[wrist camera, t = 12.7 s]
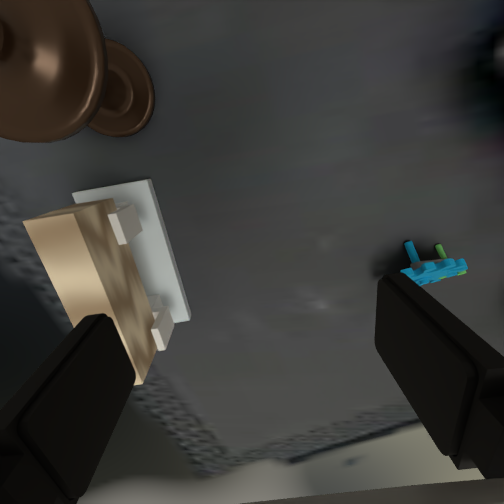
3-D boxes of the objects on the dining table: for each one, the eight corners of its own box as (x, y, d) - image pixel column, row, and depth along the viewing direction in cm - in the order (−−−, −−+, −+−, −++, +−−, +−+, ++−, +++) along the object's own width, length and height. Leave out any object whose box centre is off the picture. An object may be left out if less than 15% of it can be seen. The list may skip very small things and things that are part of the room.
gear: (369, 297, 38) (418, 274, 29) (357, 259, 40) (399, 227, 31) (435, 289, 40) (500, 265, 31) (420, 253, 42) (476, 222, 33)
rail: (74, 204, 27) (22, 221, 20) (112, 197, 27) (73, 213, 20) (130, 343, 34) (104, 389, 27) (161, 338, 34) (142, 383, 27)
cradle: (78, 191, 32) (19, 207, 23) (150, 178, 32) (118, 189, 23) (132, 324, 40) (102, 374, 31) (191, 314, 39) (177, 361, 31)
